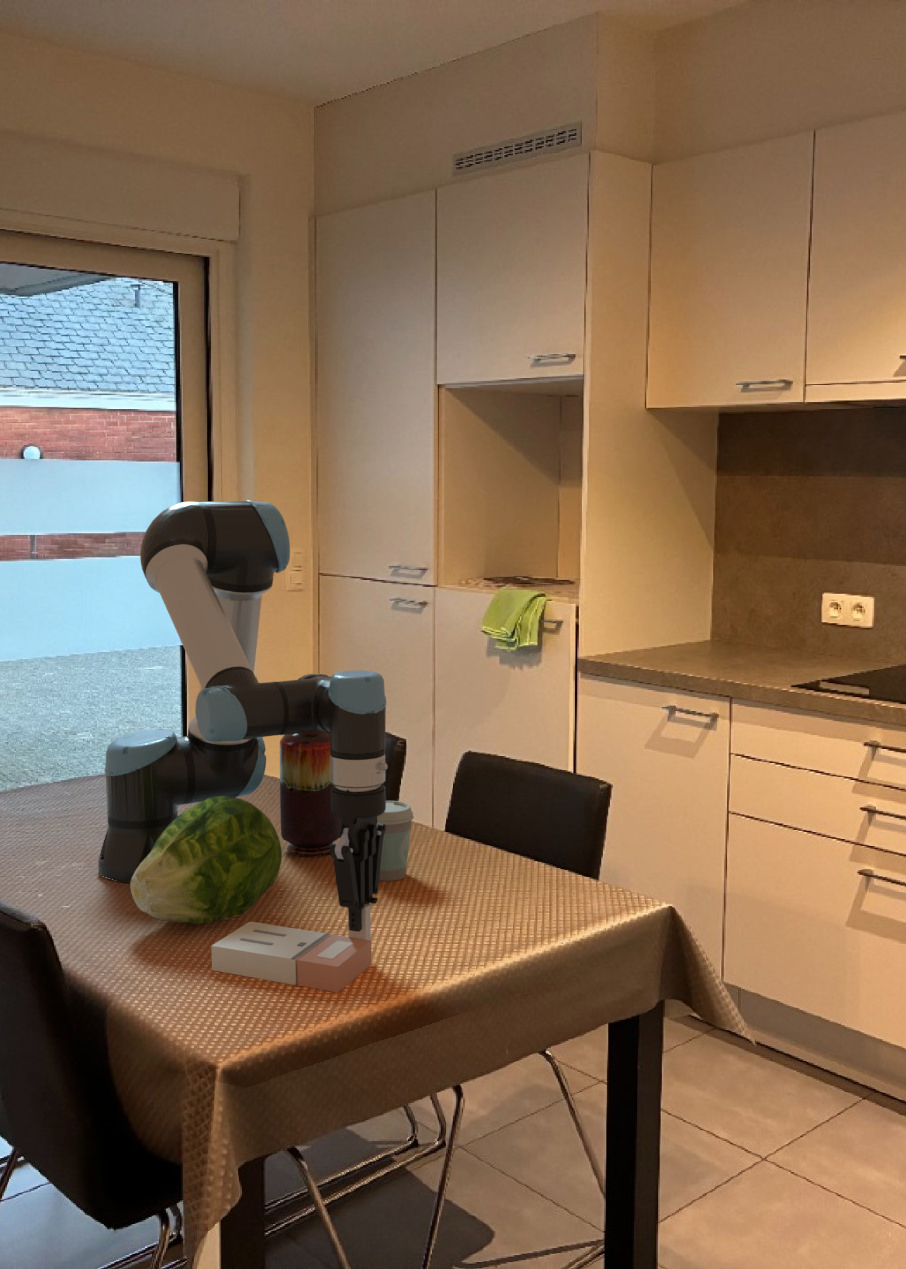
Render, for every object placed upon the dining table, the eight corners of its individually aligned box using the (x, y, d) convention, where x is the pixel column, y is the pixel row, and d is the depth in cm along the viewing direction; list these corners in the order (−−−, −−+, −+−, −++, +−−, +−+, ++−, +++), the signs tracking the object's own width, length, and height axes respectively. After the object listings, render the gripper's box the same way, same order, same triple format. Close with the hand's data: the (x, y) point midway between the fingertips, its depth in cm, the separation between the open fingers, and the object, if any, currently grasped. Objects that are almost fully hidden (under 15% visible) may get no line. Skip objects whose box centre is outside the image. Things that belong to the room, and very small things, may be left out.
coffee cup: (407, 885, 206) (406, 814, 204) (357, 881, 208) (356, 811, 206) (418, 869, 214) (418, 801, 213) (370, 866, 216) (370, 798, 214)
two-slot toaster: (211, 970, 171) (211, 944, 170) (250, 944, 180) (250, 920, 179) (295, 985, 166) (295, 959, 165) (330, 958, 175) (330, 933, 174)
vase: (303, 862, 218) (301, 715, 214) (269, 848, 226) (266, 706, 223) (354, 850, 225) (353, 707, 222) (319, 837, 233) (317, 699, 230)
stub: (297, 985, 166) (297, 959, 165) (332, 958, 175) (332, 933, 174) (337, 992, 163) (337, 966, 163) (371, 965, 172) (371, 939, 172)
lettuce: (110, 916, 192) (98, 813, 185) (240, 861, 207) (233, 764, 200) (172, 974, 179) (161, 866, 172) (306, 911, 194) (301, 809, 187)
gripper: (362, 798, 163) (363, 971, 166) (402, 776, 175) (403, 938, 178) (311, 793, 166) (313, 963, 169) (354, 771, 178) (356, 930, 181)
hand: (359, 950), depth 174 cm, fingers closed
